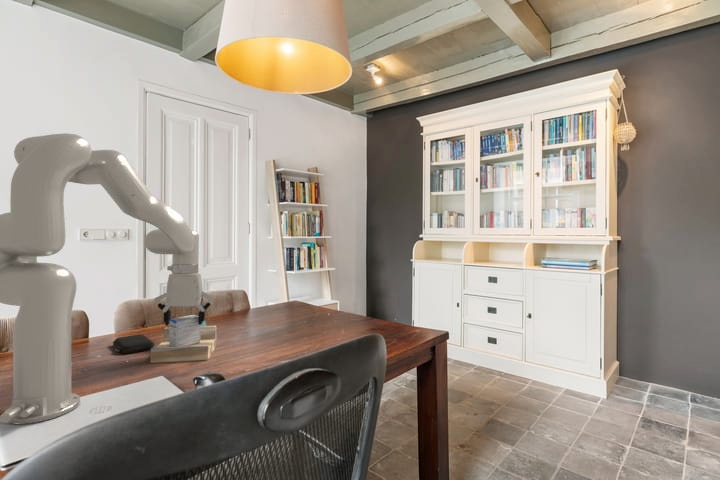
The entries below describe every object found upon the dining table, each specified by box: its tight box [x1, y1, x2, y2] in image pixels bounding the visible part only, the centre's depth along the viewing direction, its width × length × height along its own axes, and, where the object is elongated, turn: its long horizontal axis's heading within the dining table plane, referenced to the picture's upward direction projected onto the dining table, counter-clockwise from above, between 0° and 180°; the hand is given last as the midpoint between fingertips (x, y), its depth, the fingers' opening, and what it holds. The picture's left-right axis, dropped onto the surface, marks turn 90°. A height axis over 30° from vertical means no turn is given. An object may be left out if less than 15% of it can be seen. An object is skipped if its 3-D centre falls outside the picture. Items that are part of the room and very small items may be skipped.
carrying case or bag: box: [112, 333, 156, 355], centre depth 125 cm, size 11×3×15 cm
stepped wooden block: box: [149, 325, 217, 364], centre depth 119 cm, size 14×16×7 cm
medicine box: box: [169, 314, 200, 347], centre depth 118 cm, size 8×4×9 cm, turn 145°
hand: (184, 324), depth 118 cm, fingers open, 9 cm apart
